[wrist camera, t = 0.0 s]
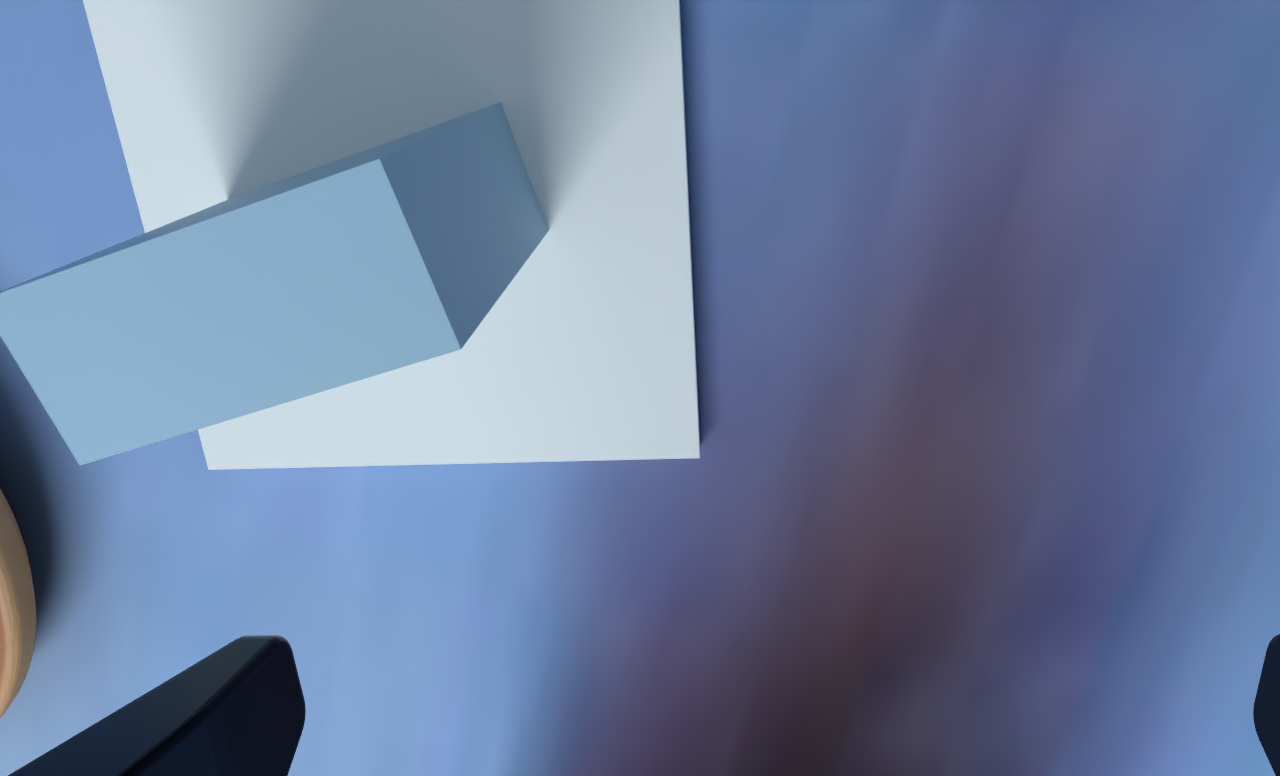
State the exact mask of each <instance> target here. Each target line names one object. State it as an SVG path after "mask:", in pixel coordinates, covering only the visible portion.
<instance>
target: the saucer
mask: <svg viewBox="0 0 1280 776" xmlns="http://www.w3.org/2000/svg"><path fill="white" fill-rule="evenodd" d="M36 621H37V619H36V603H35V594H34V586H33V582H32V574H31V568H30V564H29V560H28V555H27V551H26V547H25V544H24V541H23V538H22V535H21V533H20V530H19V527H18V524H17V521H16V519H15V517H14V515H13V513H12V510H11V508H10V506H9V504H8V502H7V499H6V498H5V496H4V494H3V492H2V490H1V488H0V718H1V717H2V716H3V714H4V713H5V711H6V710H7V709H8V707H9V706H10V704H11V703H12V701H13V700H14V698H15V697H16V695H17V694H18V692H19V690H20V688H21V686H22V684H23V682H24V680H25V677H26V675H27V672H28V669H29V666H30V663H31V659H32V655H33V650H34V644H35V636H36Z"/></svg>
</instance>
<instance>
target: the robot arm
mask: <svg viewBox="0 0 1280 776" xmlns="http://www.w3.org/2000/svg"><path fill="white" fill-rule="evenodd" d="M304 722H305V701H304V697H303V693H302V689H301V684H300V680H299V676H298V672H297V668H296V664H295V660H294V656H293V652H292V649H291V646H290V644H289V642H288V641H287V640H286V639H285V638H283V637H281V636H278V635H274V636H243V637H240V638H238V639H236V640H234V641H233V642H231V643H229V644H228V645H226V646H224V647H223V648H221V649H219V650H218V651H216V652H214V653H213V654H211V655H209V656H208V657H206V658H204V659H203V660H201V661H199V662H198V663H196V664H194V665H193V666H191V667H189V668H188V669H186V670H184V671H183V672H181V673H179V674H178V675H176V676H174V677H172V678H171V679H169V680H167V681H166V682H164V683H162V684H161V685H159V686H157V687H156V688H154V689H152V690H151V691H149V692H147V693H146V694H144V695H142V696H141V697H139V698H137V699H136V700H134V701H132V702H131V703H129V704H127V705H126V706H124V707H122V708H121V709H119V710H117V711H116V712H114V713H112V714H110V715H109V716H107V717H105V718H104V719H102V720H100V721H99V722H97V723H95V724H94V725H92V726H90V727H89V728H87V729H85V730H84V731H82V732H80V733H79V734H77V735H75V736H74V737H72V738H70V739H69V740H67V741H65V742H64V743H62V744H60V745H59V746H57V747H55V748H54V749H52V750H50V751H48V752H47V753H45V754H43V755H42V756H40V757H38V758H37V759H35V760H33V761H32V762H30V763H28V764H27V765H25V766H23V767H22V768H20V769H18V770H17V771H15V772H13V773H12V774H10V775H8V776H287V775H288V772H289V769H290V766H291V763H292V760H293V758H294V755H295V752H296V749H297V746H298V743H299V740H300V737H301V734H302V730H303V727H304ZM1254 724H1255V728H1256V732H1257V735H1258V737H1259V740H1260V742H1261V744H1262V747H1263V749H1264V751H1265V753H1266V755H1267V757H1268V760H1269V762H1270V764H1271V766H1272V768H1273V771H1274V773H1275V775H1276V776H1280V634H1279V635H1277V636H1275V637H1274V638H1273V639H1272V640H1271V641H1270V643H1269V645H1268V648H1267V651H1266V656H1265V660H1264V664H1263V669H1262V673H1261V677H1260V681H1259V686H1258V690H1257V694H1256V698H1255V703H1254Z"/></svg>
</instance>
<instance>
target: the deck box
mask: <svg viewBox="0 0 1280 776" xmlns="http://www.w3.org/2000/svg"><path fill="white" fill-rule="evenodd" d="M548 231H549V229H548V226H547V224H546V221H545V218H544V216H543V213H542V210H541V208H540V205H539V202H538V200H537V197H536V194H535V192H534V189H533V186H532V184H531V181H530V178H529V176H528V173H527V170H526V168H525V165H524V162H523V160H522V157H521V155H520V152H519V149H518V147H517V144H516V141H515V139H514V136H513V133H512V131H511V128H510V125H509V123H508V120H507V117H506V115H505V112H504V109H503V107H502V104H501V102H500V103H497V104H494V105H491V106H489V107H486V108H483V109H480V110H477V111H475V112H472V113H469V114H466V115H463V116H461V117H458V118H455V119H452V120H449V121H447V122H444V123H441V124H438V125H435V126H433V127H430V128H427V129H424V130H421V131H419V132H416V133H413V134H410V135H407V136H405V137H402V138H399V139H396V140H393V141H391V142H388V143H385V144H382V145H379V146H377V147H374V148H371V149H368V150H365V151H363V152H360V153H357V154H354V155H351V156H349V157H346V158H343V159H340V160H337V161H335V162H332V163H329V164H326V165H323V166H321V167H318V168H315V169H312V170H309V171H307V172H304V173H301V174H298V175H295V176H293V177H290V178H287V179H284V180H281V181H279V182H276V183H273V184H270V185H267V186H265V187H262V188H259V189H256V190H253V191H251V192H248V193H245V194H242V195H239V196H237V197H234V198H231V199H228V200H226V201H223V202H221V203H218V204H216V205H213V206H211V207H208V208H206V209H203V210H201V211H199V212H196V213H194V214H191V215H189V216H186V217H184V218H181V219H179V220H176V221H174V222H171V223H169V224H166V225H164V226H162V227H159V228H157V229H154V230H152V231H149V232H147V233H144V234H142V235H139V236H137V237H134V238H132V239H130V240H127V241H125V242H122V243H120V244H117V245H115V246H112V247H110V248H107V249H105V250H102V251H100V252H97V253H95V254H93V255H90V256H88V257H85V258H83V259H80V260H78V261H75V262H73V263H70V264H68V265H65V266H63V267H60V268H58V269H56V270H53V271H51V272H48V273H46V274H43V275H41V276H38V277H36V278H33V279H31V280H28V281H26V282H24V283H21V284H19V285H16V286H14V287H11V288H9V289H6V290H4V291H1V292H0V336H1V338H2V339H3V341H4V343H5V344H6V346H7V347H8V349H9V351H10V352H11V354H12V356H13V357H14V359H15V361H16V362H17V364H18V365H19V367H20V369H21V370H22V372H23V374H24V375H25V377H26V379H27V380H28V382H29V383H30V385H31V387H32V388H33V390H34V392H35V393H36V395H37V397H38V398H39V400H40V401H41V403H42V405H43V406H44V408H45V410H46V411H47V413H48V415H49V416H50V418H51V419H52V421H53V423H54V424H55V426H56V428H57V429H58V431H59V433H60V434H61V436H62V437H63V439H64V441H65V442H66V444H67V446H68V447H69V449H70V451H71V452H72V454H73V455H74V457H75V459H76V460H77V462H78V464H79V465H83V464H87V463H90V462H93V461H97V460H100V459H103V458H106V457H110V456H113V455H116V454H119V453H123V452H126V451H129V450H133V449H136V448H139V447H142V446H146V445H149V444H152V443H156V442H159V441H162V440H165V439H169V438H172V437H175V436H179V435H182V434H185V433H188V432H192V431H195V430H198V429H201V428H205V427H208V426H211V425H215V424H218V423H221V422H224V421H228V420H231V419H234V418H238V417H241V416H244V415H247V414H251V413H254V412H257V411H261V410H264V409H267V408H270V407H274V406H277V405H280V404H283V403H287V402H290V401H293V400H297V399H300V398H303V397H306V396H310V395H313V394H316V393H320V392H323V391H326V390H329V389H333V388H336V387H339V386H343V385H346V384H349V383H352V382H356V381H359V380H362V379H365V378H369V377H372V376H375V375H379V374H382V373H385V372H388V371H392V370H395V369H398V368H402V367H405V366H408V365H411V364H415V363H418V362H421V361H425V360H428V359H431V358H434V357H438V356H441V355H444V354H447V353H451V352H454V351H457V350H461V349H462V348H463V346H464V345H465V343H466V342H467V341H468V339H469V338H470V337H471V335H472V334H473V333H474V331H475V330H476V329H477V327H478V326H479V325H480V323H481V322H482V320H483V319H484V318H485V316H486V315H487V314H488V312H489V311H490V310H491V308H492V307H493V306H494V304H495V303H496V301H497V300H498V299H499V297H500V296H501V295H502V293H503V292H504V291H505V289H506V288H507V287H508V285H509V284H510V283H511V281H512V280H513V278H514V277H515V276H516V274H517V273H518V272H519V270H520V269H521V268H522V266H523V265H524V264H525V262H526V261H527V260H528V258H529V257H530V255H531V254H532V253H533V251H534V250H535V249H536V247H537V246H538V245H539V243H540V242H541V241H542V239H543V238H544V237H545V235H546V234H547V232H548Z"/></svg>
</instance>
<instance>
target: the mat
mask: <svg viewBox="0 0 1280 776" xmlns="http://www.w3.org/2000/svg"><path fill="white" fill-rule="evenodd" d="M83 3H84V6H85V10H86V14H87V18H88V21H89V25H90V29H91V33H92V36H93V40H94V44H95V47H96V51H97V55H98V59H99V62H100V66H101V70H102V74H103V77H104V81H105V85H106V89H107V92H108V96H109V100H110V103H111V107H112V111H113V115H114V118H115V122H116V126H117V130H118V133H119V137H120V141H121V144H122V148H123V152H124V156H125V159H126V163H127V167H128V171H129V174H130V178H131V182H132V186H133V189H134V193H135V197H136V200H137V204H138V208H139V212H140V215H141V219H142V223H143V227H144V230H145V233H147V232H149V231H152V230H154V229H157V228H159V227H162V226H164V225H166V224H169V223H171V222H174V221H176V220H179V219H181V218H184V217H186V216H189V215H191V214H194V213H196V212H199V211H201V210H203V209H206V208H208V207H211V206H213V205H216V204H218V203H221V202H223V201H226V200H228V199H231V198H234V197H237V196H239V195H242V194H245V193H248V192H251V191H253V190H256V189H259V188H262V187H265V186H267V185H270V184H273V183H276V182H279V181H281V180H284V179H287V178H290V177H293V176H295V175H298V174H301V173H304V172H307V171H309V170H312V169H315V168H318V167H321V166H323V165H326V164H329V163H332V162H335V161H337V160H340V159H343V158H346V157H349V156H351V155H354V154H357V153H360V152H363V151H365V150H368V149H371V148H374V147H377V146H379V145H382V144H385V143H388V142H391V141H393V140H396V139H399V138H402V137H405V136H407V135H410V134H413V133H416V132H419V131H421V130H424V129H427V128H430V127H433V126H435V125H438V124H441V123H444V122H447V121H449V120H452V119H455V118H458V117H461V116H463V115H466V114H469V113H472V112H475V111H477V110H480V109H483V108H486V107H489V106H491V105H494V104H497V103H500V102H501V104H502V107H503V109H504V112H505V115H506V117H507V120H508V123H509V125H510V128H511V131H512V133H513V136H514V139H515V141H516V144H517V147H518V149H519V152H520V155H521V157H522V160H523V162H524V165H525V168H526V170H527V173H528V176H529V178H530V181H531V184H532V186H533V189H534V192H535V194H536V197H537V200H538V202H539V205H540V208H541V210H542V213H543V216H544V218H545V221H546V224H547V226H548V229H549V231H548V232H547V234H546V235H545V237H544V238H543V239H542V241H541V242H540V243H539V245H538V246H537V247H536V249H535V250H534V251H533V253H532V254H531V255H530V257H529V258H528V260H527V261H526V262H525V264H524V265H523V266H522V268H521V269H520V270H519V272H518V273H517V274H516V276H515V277H514V278H513V280H512V281H511V283H510V284H509V285H508V287H507V288H506V289H505V291H504V292H503V293H502V295H501V296H500V297H499V299H498V300H497V301H496V303H495V304H494V306H493V307H492V308H491V310H490V311H489V312H488V314H487V315H486V316H485V318H484V319H483V320H482V322H481V323H480V325H479V326H478V327H477V329H476V330H475V331H474V333H473V334H472V335H471V337H470V338H469V339H468V341H467V342H466V343H465V345H464V346H463V348H462V349H461V350H457V351H454V352H451V353H447V354H444V355H441V356H438V357H434V358H431V359H428V360H425V361H421V362H418V363H415V364H411V365H408V366H405V367H402V368H398V369H395V370H392V371H388V372H385V373H382V374H379V375H375V376H372V377H369V378H365V379H362V380H359V381H356V382H352V383H349V384H346V385H343V386H339V387H336V388H333V389H329V390H326V391H323V392H320V393H316V394H313V395H310V396H306V397H303V398H300V399H297V400H293V401H290V402H287V403H283V404H280V405H277V406H274V407H270V408H267V409H264V410H261V411H257V412H254V413H251V414H247V415H244V416H241V417H238V418H234V419H231V420H228V421H224V422H221V423H218V424H215V425H211V426H208V427H205V428H201V429H198V432H199V436H200V439H201V443H202V447H203V450H204V454H205V458H206V462H207V465H208V469H209V470H216V469H259V468H301V467H344V466H386V465H429V464H472V463H514V462H557V461H599V460H642V459H684V458H700V435H699V413H698V391H697V369H696V347H695V325H694V303H693V281H692V259H691V237H690V215H689V193H688V171H687V149H686V127H685V106H684V84H683V62H682V40H681V18H680V0H83Z"/></svg>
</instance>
